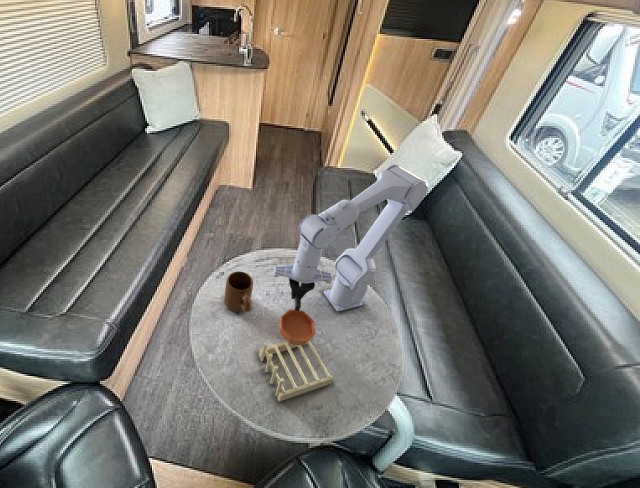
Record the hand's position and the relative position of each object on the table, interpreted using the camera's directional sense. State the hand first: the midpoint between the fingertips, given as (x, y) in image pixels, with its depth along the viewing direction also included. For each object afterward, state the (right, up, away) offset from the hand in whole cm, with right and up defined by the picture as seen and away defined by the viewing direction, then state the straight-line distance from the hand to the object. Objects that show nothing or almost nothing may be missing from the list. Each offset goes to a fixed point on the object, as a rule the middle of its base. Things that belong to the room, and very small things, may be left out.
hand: (296, 296), depth 87 cm
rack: (-2, -16, -7) cm, 18 cm away
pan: (-1, -5, -2) cm, 5 cm away
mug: (-15, -5, +7) cm, 18 cm away
